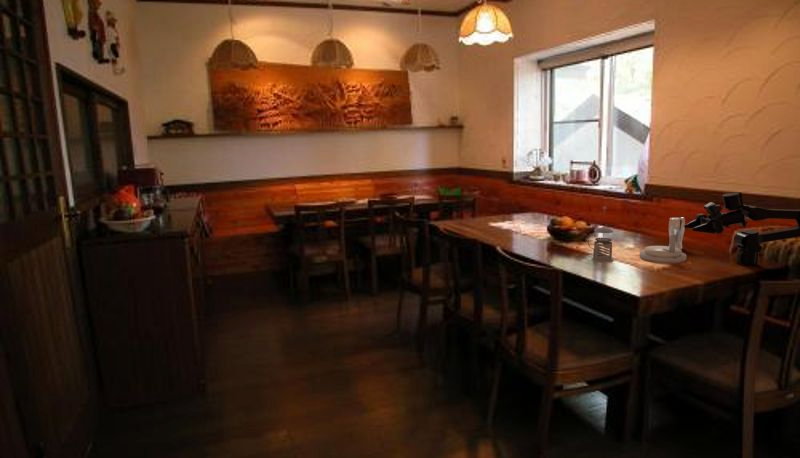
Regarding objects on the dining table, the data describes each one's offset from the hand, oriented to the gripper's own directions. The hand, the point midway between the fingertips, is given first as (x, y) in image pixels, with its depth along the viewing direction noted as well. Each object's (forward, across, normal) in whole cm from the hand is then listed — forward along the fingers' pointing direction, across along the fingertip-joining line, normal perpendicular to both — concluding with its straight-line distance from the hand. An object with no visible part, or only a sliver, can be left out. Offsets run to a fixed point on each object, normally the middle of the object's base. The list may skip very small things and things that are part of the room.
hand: (688, 228), depth 211 cm
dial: (+10, -10, +11) cm, 18 cm away
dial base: (+10, -11, +13) cm, 20 cm away
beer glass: (-2, -32, +16) cm, 36 cm away
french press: (+37, -6, +7) cm, 38 cm away
